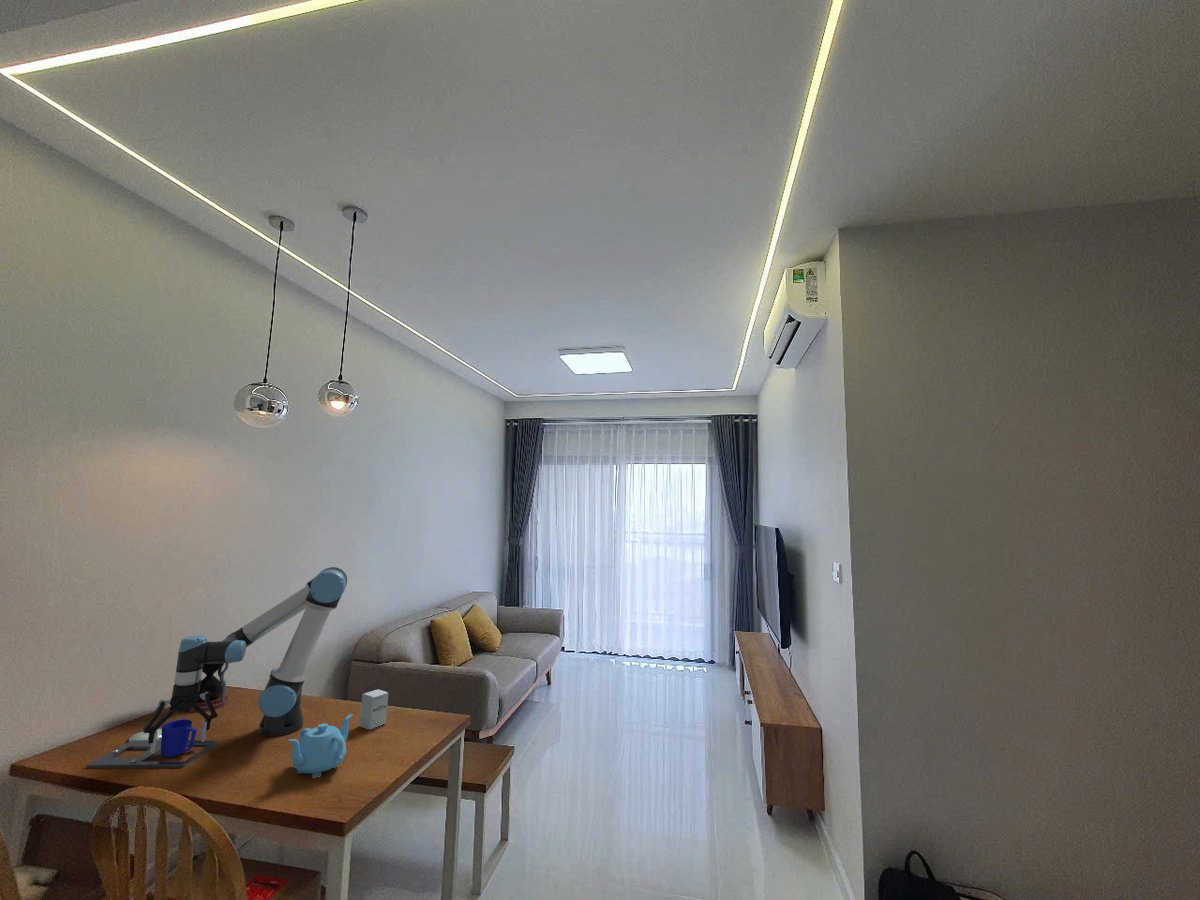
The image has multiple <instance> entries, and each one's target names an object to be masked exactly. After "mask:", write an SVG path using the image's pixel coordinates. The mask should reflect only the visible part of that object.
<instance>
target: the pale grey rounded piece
mask: <svg viewBox="0 0 1200 900" xmlns="http://www.w3.org/2000/svg"><path fill="white" fill-rule="evenodd" d="M157 733H158V734H157V740H161V734H162V728H158V730H157ZM148 737H149V733H144V732H143V731H140V732H137V733H135V734H132V735H131V736H130V737H129V739H128V742H130V741H132V740H148Z"/></svg>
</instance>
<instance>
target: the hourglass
mask: <svg viewBox="0 0 1200 900" xmlns="http://www.w3.org/2000/svg"><path fill="white" fill-rule="evenodd" d="M229 664H230V663H215V664H203V669H202V673H203V674H205V677H203V678H202V677H201V680H200V682H201V684H200V690H199V695H200V694H203V693H205V692H208V693H209V694H210V701H211V703H212V705H213V707H214V709H215V710H216V709H220V708H221V707H224V706H226V705H228V703H229V702H230V697H229V696H228V695H226V688H227V687H226V686H227V683H226V680H225V672H226V671H227V670H229V669H228V668H229ZM216 672H217V676H218V677H219V678H217V677H216V676H215V675H214V674H215V673H216ZM196 704H197V705H198V706H199V707H200V708H201V709H202V710H203V711H204V712H206V711H209V709H208V707H207V705H206V703H205V700H203V699H202V698H200V699H199V700H198V701H197V702H196ZM183 711H185V712H189V713H198V712H197V711H196V710H195V709H194V708H193V707H192V708H191V709H190V710H183Z"/></svg>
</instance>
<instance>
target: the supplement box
mask: <svg viewBox="0 0 1200 900" xmlns="http://www.w3.org/2000/svg"><path fill="white" fill-rule="evenodd" d="M388 702H389V692H387V691H385V690H381V689H375V690H371V691H368V692H365V693H362V694H361V705H360V715H359V723H358V724H359V727H360V726H361V727H360V728H362V727H364V728H363V729H365V728H367V729H372V730H374V729H376V728H375V727H377V728H379V727H378V726H380V727H382V726H381V725H383V724H385V723H387V712H388V704H389V703H388ZM385 725H386V724H385ZM383 726H384V725H383ZM373 728H374V729H373ZM367 729H366V730H367Z"/></svg>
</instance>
